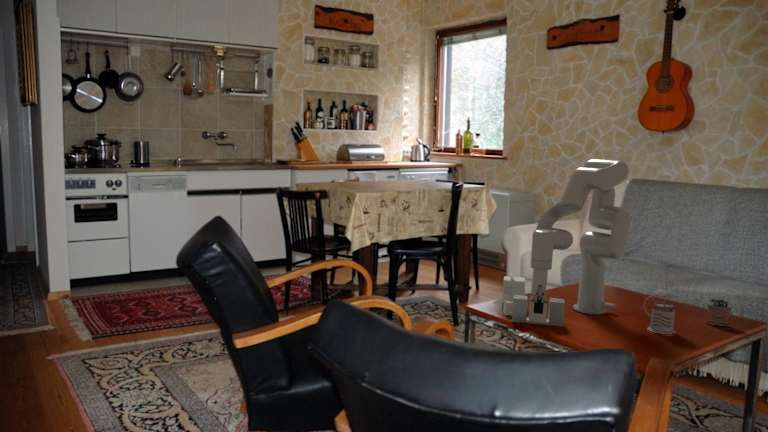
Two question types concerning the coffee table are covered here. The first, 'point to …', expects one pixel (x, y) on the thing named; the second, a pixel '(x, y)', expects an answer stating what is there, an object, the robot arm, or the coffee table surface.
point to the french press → (660, 325)
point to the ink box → (512, 287)
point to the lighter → (718, 312)
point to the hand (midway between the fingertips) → (537, 309)
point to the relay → (508, 307)
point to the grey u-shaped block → (553, 315)
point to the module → (534, 316)
